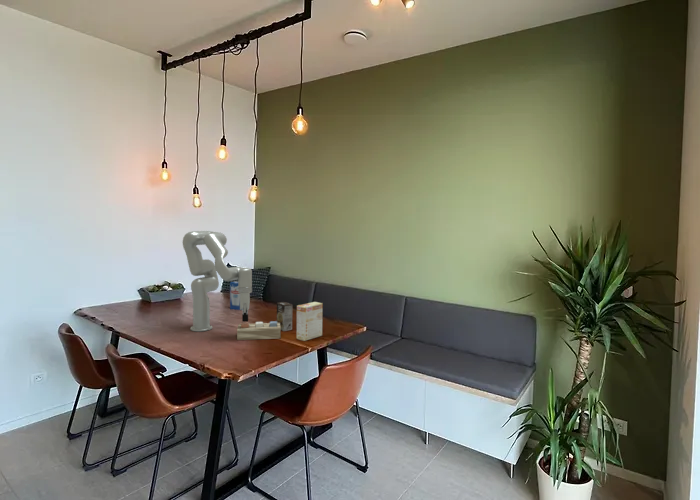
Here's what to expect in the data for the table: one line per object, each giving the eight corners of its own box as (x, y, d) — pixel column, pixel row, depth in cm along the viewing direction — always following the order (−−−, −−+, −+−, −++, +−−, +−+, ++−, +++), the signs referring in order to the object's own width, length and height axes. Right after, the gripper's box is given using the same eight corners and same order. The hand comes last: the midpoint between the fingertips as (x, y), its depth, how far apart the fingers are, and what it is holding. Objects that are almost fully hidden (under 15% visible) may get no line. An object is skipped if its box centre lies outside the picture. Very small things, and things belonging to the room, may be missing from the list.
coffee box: (276, 328, 253) (276, 302, 252) (285, 326, 257) (285, 301, 256) (283, 331, 246) (283, 305, 245) (292, 329, 250) (292, 304, 249)
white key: (255, 328, 236) (255, 321, 236) (262, 328, 237) (262, 321, 237) (255, 330, 233) (255, 323, 232) (262, 330, 233) (262, 323, 233)
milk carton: (229, 309, 302) (229, 282, 301) (234, 307, 308) (234, 281, 307) (241, 310, 300) (241, 283, 298) (246, 308, 306) (246, 282, 304)
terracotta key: (241, 329, 235) (241, 322, 234) (248, 328, 236) (248, 322, 235) (241, 331, 231) (241, 324, 231) (248, 330, 232) (248, 323, 231)
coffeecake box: (314, 333, 243) (314, 301, 242) (322, 335, 239) (323, 303, 237) (295, 338, 232) (296, 305, 230) (304, 341, 227) (304, 307, 226)
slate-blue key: (269, 328, 238) (269, 321, 238) (276, 327, 239) (276, 321, 238) (269, 330, 234) (269, 323, 234) (276, 329, 235) (276, 323, 235)
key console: (238, 334, 239) (238, 324, 238) (279, 332, 243) (279, 322, 243) (237, 340, 227) (237, 329, 226) (280, 338, 232) (280, 328, 231)
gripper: (239, 287, 238) (239, 318, 239) (237, 292, 223) (237, 324, 225) (252, 287, 239) (252, 317, 241) (251, 291, 225) (251, 324, 226)
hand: (245, 321), depth 233 cm, fingers closed
